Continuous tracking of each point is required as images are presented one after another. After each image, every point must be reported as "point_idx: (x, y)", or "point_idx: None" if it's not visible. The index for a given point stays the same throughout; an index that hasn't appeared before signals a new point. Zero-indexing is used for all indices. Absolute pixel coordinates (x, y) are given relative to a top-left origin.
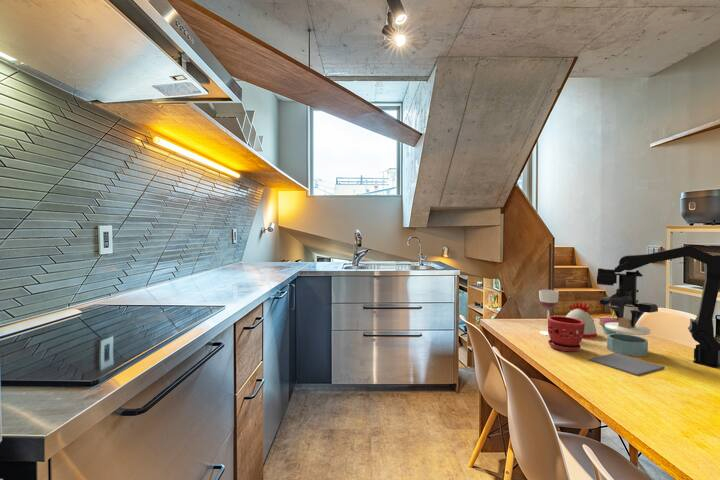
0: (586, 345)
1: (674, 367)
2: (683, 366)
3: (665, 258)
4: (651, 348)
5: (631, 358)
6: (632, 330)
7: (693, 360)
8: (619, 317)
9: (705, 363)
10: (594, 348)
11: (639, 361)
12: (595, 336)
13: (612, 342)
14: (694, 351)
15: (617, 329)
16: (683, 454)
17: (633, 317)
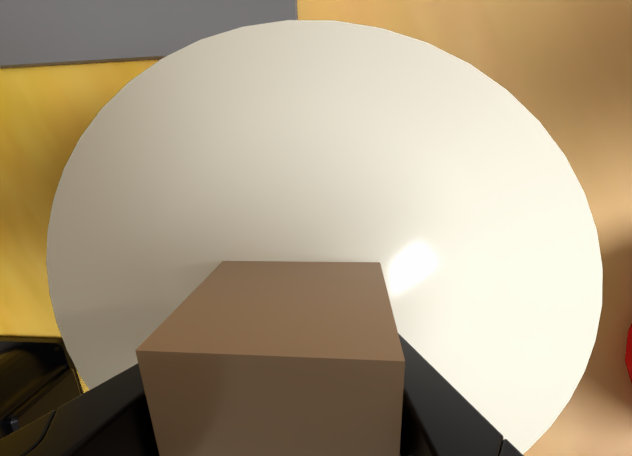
0: (559, 51)
1: (15, 157)
2: (24, 225)
3: None
4: None
5: (161, 23)
6: (133, 195)
7: (63, 350)
8: (400, 393)
9: (14, 346)
10: (471, 34)
11: (98, 8)
12: (628, 358)
13: None
14: (28, 402)
15: (256, 28)
16: None
17: (15, 451)
